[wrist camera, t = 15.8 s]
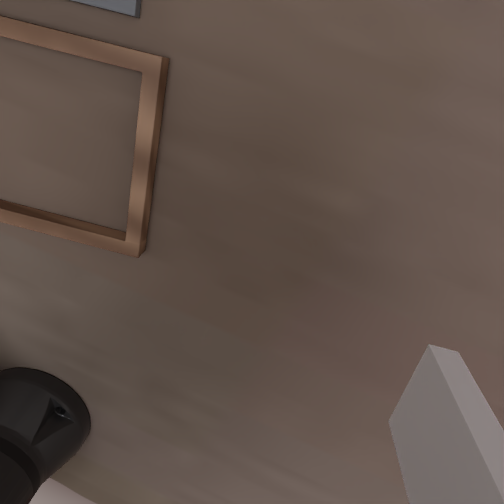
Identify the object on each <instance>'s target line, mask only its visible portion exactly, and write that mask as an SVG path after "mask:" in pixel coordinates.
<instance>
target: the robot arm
mask: <svg viewBox="0 0 504 504" xmlns="http://www.w3.org/2000/svg"><path fill="white" fill-rule="evenodd" d="M389 425H390V429H391V433H392V437H393V441H394V445H395V449H396V453H397V457H398V461H399V465H400V469H401V473H402V477H403V481H404V485H405V489H406V493H407V497H408V501H409V504H504V431H503V429H502V427H501V425H500V424H499V422H498V420H497V418H496V417H495V415H494V413H493V411H492V410H491V408H490V406H489V404H488V403H487V401H486V399H485V398H484V396H483V394H482V392H481V391H480V389H479V387H478V385H477V384H476V382H475V380H474V378H473V377H472V375H471V373H470V371H469V370H468V368H467V366H466V364H465V363H464V361H463V359H462V358H461V356H460V354H459V352H457V351H453V350H449V349H445V348H441V347H438V346H434V345H430V344H428V346H427V348H426V350H425V352H424V354H423V356H422V358H421V360H420V362H419V364H418V366H417V367H416V369H415V371H414V373H413V375H412V377H411V379H410V381H409V383H408V385H407V387H406V389H405V390H404V392H403V394H402V396H401V398H400V400H399V402H398V404H397V406H396V408H395V410H394V411H393V413H392V415H391V417H390V419H389ZM89 430H90V417H89V414H88V411H87V409H86V407H85V405H84V403H83V402H82V400H81V399H80V398H79V396H78V395H77V394H76V393H75V392H74V391H73V390H72V389H71V388H70V387H69V386H67V385H66V384H65V383H63V382H62V381H60V380H58V379H57V378H55V377H53V376H51V375H49V374H46V373H43V372H40V371H37V370H33V369H26V368H13V369H7V370H4V371H1V372H0V504H29V502H30V501H31V499H32V498H33V496H34V495H35V493H36V492H37V490H38V488H39V487H40V486H41V484H42V483H44V482H45V481H46V480H47V479H48V478H49V477H50V476H52V475H53V474H54V473H55V472H56V471H57V470H58V469H59V468H61V467H62V466H63V465H64V464H65V463H66V462H67V461H69V460H70V459H71V458H72V457H73V456H74V455H75V454H76V453H77V452H78V451H79V449H80V448H81V446H82V444H83V443H84V441H85V439H86V438H87V436H88V434H89Z"/></svg>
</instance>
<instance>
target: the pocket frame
mask: <svg viewBox="0 0 504 504" xmlns="http://www.w3.org/2000/svg"><path fill="white" fill-rule="evenodd" d="M0 36H3V37H6V38H10V39H14V40H18V41H22V42H26V43H30V44H34V45H38V46H42V47H46V48H50V49H54V50H57V51H61V52H65V53H69V54H73V55H77V56H81V57H85V58H89V59H93V60H97V61H101V62H104V63H108V64H112V65H116V66H120V67H124V68H128V69H132V70H136V71H140V72H142V82H141V92H140V102H139V112H138V121H137V131H136V141H135V151H134V161H133V171H132V180H131V190H130V200H129V210H128V220H127V230H126V232H122V231H119V230H115V229H111V228H107V227H103V226H99V225H96V224H92V223H88V222H84V221H80V220H76V219H73V218H69V217H65V216H61V215H57V214H54V213H50V212H46V211H42V210H38V209H34V208H31V207H27V206H23V205H19V204H15V203H11V202H8V201H4V200H0V222H3V223H6V224H10V225H14V226H18V227H22V228H26V229H29V230H33V231H37V232H41V233H45V234H48V235H52V236H56V237H60V238H64V239H67V240H71V241H75V242H79V243H83V244H87V245H90V246H94V247H98V248H102V249H106V250H109V251H113V252H117V253H121V254H125V255H128V256H132V257H136V258H138V257H139V256H140V255H141V254H142V253H143V252H144V251H145V247H146V239H147V232H148V224H149V216H150V208H151V200H152V192H153V184H154V176H155V168H156V160H157V152H158V144H159V136H160V129H161V121H162V113H163V105H164V97H165V89H166V81H167V73H168V65H169V58H165V57H161V56H157V55H154V54H150V53H146V52H142V51H138V50H134V49H130V48H126V47H122V46H118V45H114V44H110V43H106V42H102V41H99V40H95V39H91V38H87V37H83V36H79V35H75V34H71V33H67V32H63V31H59V30H55V29H51V28H47V27H43V26H40V25H36V24H32V23H28V22H24V21H20V20H16V19H12V18H8V17H4V16H0Z"/></svg>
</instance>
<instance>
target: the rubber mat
mask: <svg viewBox="0 0 504 504" xmlns="http://www.w3.org/2000/svg"><path fill="white" fill-rule="evenodd" d="M70 1H74V2H78V3H82V4H86V5H90V6H94V7H98V8H102V9H106V10H110V11H114V12H118V13H122V14H126V15H130V16H134V17H138V18H139V16H140V6H141V0H70Z"/></svg>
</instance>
